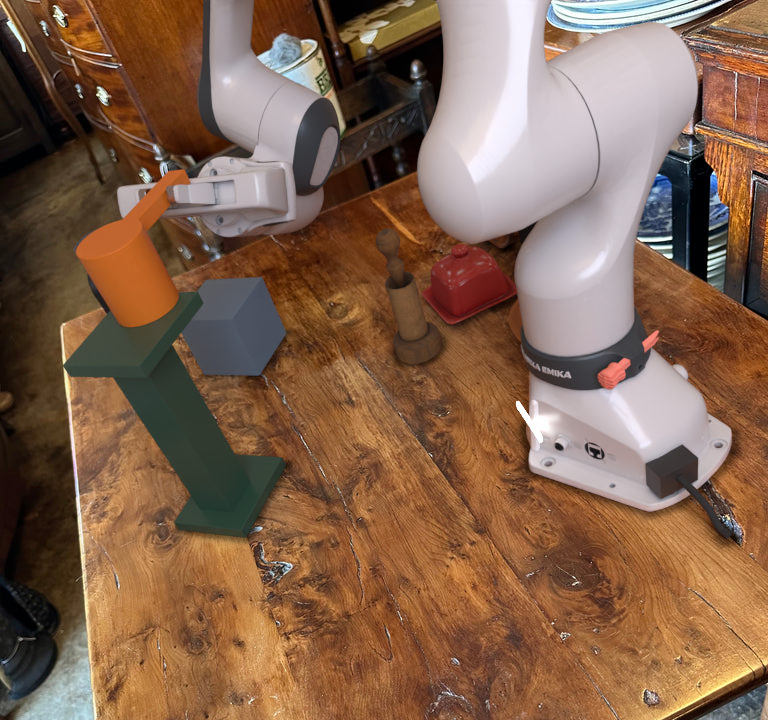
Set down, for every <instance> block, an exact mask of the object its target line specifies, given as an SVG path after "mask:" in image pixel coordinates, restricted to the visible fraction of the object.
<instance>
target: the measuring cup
mask: <svg viewBox="0 0 768 720" xmlns="http://www.w3.org/2000/svg"><path fill="white" fill-rule="evenodd" d="M157 182H158V183H157V184H156V185H155V186H154V187H153V188H152V189H151V190H150V191H149V192H148V193H147V194H146V195H145V196H144V197H143V198H142V199H141V200H140V201H139V202H138V204H137V205H136V206H135V207H134V208H133V209H132V210H131V211H130V212H129V213H128V214H127V215H126V216H125V217H124V218H122V219H119V220H116V221H113V222H110V223H107V224H105V225H103V226H101V227H99V228H96V229H97V230H96V229H95V231H94V230H93V231H94V232H92V231H91V232H92V233H91V234H89V233H88V234H89V235H88V236H87V237H86V238H85V239H83V240H82V241H81V243H80V244H79V245H78V247H77V249H76V253H75V254H76V257H77V258H78V260H79V261H80V263H81V264H82V266H83V268H84V269H85V271H86V274H87V273H88V274H89V276H90V278H91V279H92V281H93V283H94V284H95V286H96V287H97V289H98V291H99V292H100V294H101V296H102V297H103V299H104V300H105V302H106V304H107V305H108V307H109V309H110V310H111V312H112V313H113V315H114V317H115V318H116V320H117V322H118V323H119V324H120V325H122V326H124V327H139V326H143V325H146V324H149V323H151V322H154V321H156V320H157V319H159V318H161V317H163V316H164V315H165V314H167V313H168V312H169V311H170V310H171V309H172V308H173V307H174V306H175V305H176V303H177V301H178V299H179V292H180V291H178V289H177V286H176V284H175V283H174V281H173V279H172V277H171V275H170V273H169V272H168V270H167V267H166V266H165V264H164V262H163V260H162V258H161V257H160V254H159V253H158V251H157V249H156V247H155V244H154V243H153V241H152V239H151V236H150V235H149V234H148V231H149V230H150V229H151V228H152V227H153V225H154V224H155V223H156V222H157V221H158V220H160V219H159V217H160V216H161V215H162V214H163V213H164V212H165V211H166V210H167V209H168V208H169V206H170V205H171V204H170V203H169V202H168V200H167V196H168V194H167V193H166V188H167V186H172V185H189V184H190V183H191V182H190V180H189V176H188V174H187V172H186V170H185V169H184V168H183V169H182V168H181V169H175V170H168V171H167V172H165V174H164V175H163V176H162V177H161V178H160V179H159V180H158V181H157Z"/></svg>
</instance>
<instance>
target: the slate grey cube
mask: <svg viewBox="0 0 768 720" xmlns="http://www.w3.org/2000/svg"><path fill="white" fill-rule="evenodd" d="M196 292H198V293H199V295H200V297H201V299H202V301H203V303H204V304H203V305H202V306H201V308H200V309H199V310H198V312H197V313H196V314H195V315H194V317H193V318H192V319H191V321H190V322H189V323H188V325H187V326H186V327H185V329H184V330H183V331H182V333H181V334H180V335H181V336H182V338H183V340H184V342H185V343H186V345H187V347H188V349H189V351H190V352H191V353H192V355H193V358H194V359H195V361H196V363H197V365H198V366H199V368H200V370H201V372H202V374H203V376H250V377H251V376H252V377H253V376H255V377H258V376H259V377H260V376H261V374H262V372H263V371H264V369H265V368H266V366H267V364H268V363H269V362H270V360H271V358H272V357H273V355H274V354H275V352H276V350H277V349H278V347H280V344H281V342H282V341H283V340H284V338H285V336H286V335H287V331H286V329H285V326H284V323H283V322H282V319H281V316H280V315H279V312H278V310H277V308H276V305H275V303H274V301H273V299H272V297H271V295H270V291H269V288H267V285H266V282H265V280H264V278H263V277H262V276H256V277H255V276H254V277H253V276H252V277H234V278H215V279H213V278H212V279H205V280H204V281H203V283H202V284H201V286H200V287H199V288H198V290H197V291H196Z"/></svg>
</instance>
